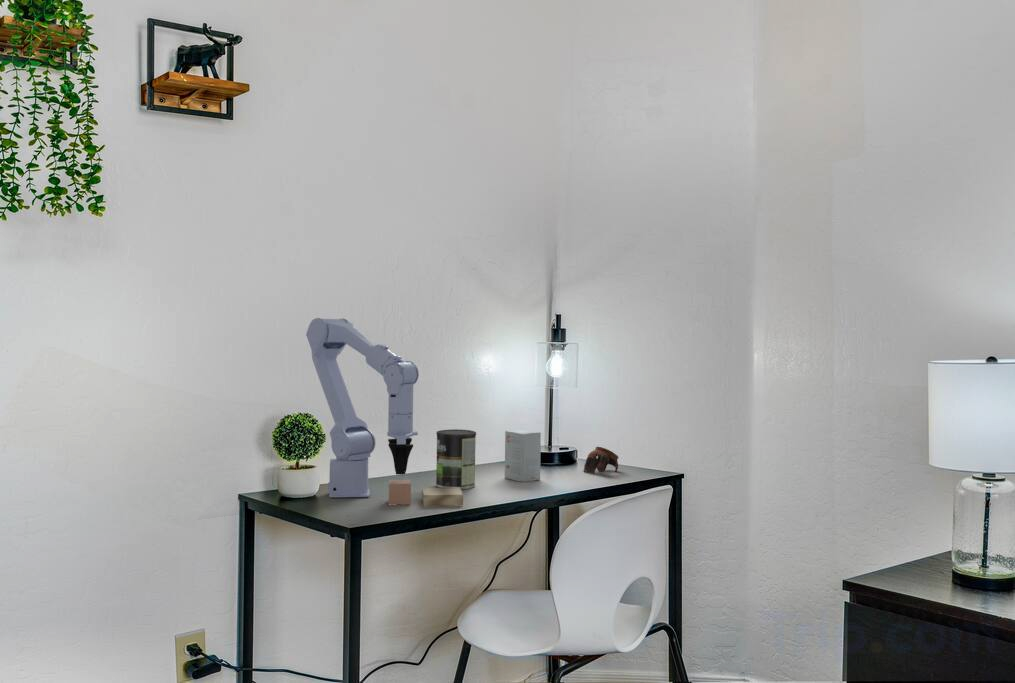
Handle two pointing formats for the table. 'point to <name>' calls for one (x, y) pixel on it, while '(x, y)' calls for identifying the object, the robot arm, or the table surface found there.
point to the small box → (522, 455)
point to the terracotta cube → (399, 492)
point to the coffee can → (455, 458)
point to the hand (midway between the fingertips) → (400, 471)
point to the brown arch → (600, 460)
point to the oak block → (442, 496)
